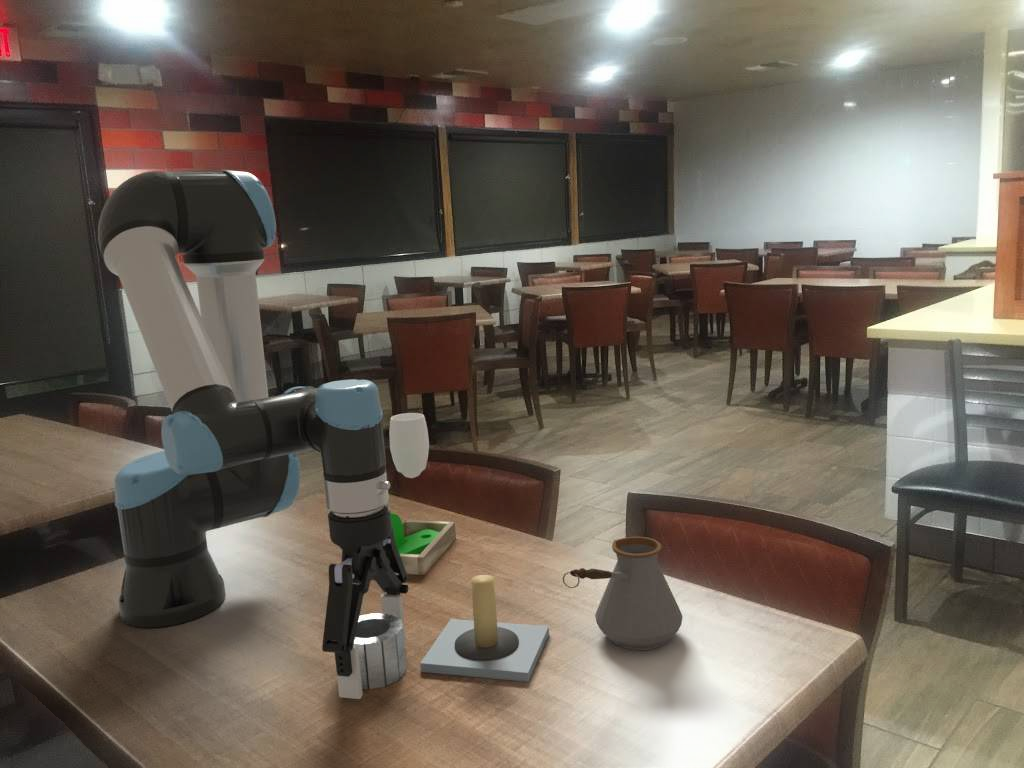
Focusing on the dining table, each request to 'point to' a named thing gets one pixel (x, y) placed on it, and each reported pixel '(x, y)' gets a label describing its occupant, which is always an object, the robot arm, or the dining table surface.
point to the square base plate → (486, 642)
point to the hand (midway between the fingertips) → (374, 667)
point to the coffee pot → (635, 597)
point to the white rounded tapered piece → (409, 443)
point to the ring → (380, 650)
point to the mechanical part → (411, 538)
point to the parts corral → (433, 550)
